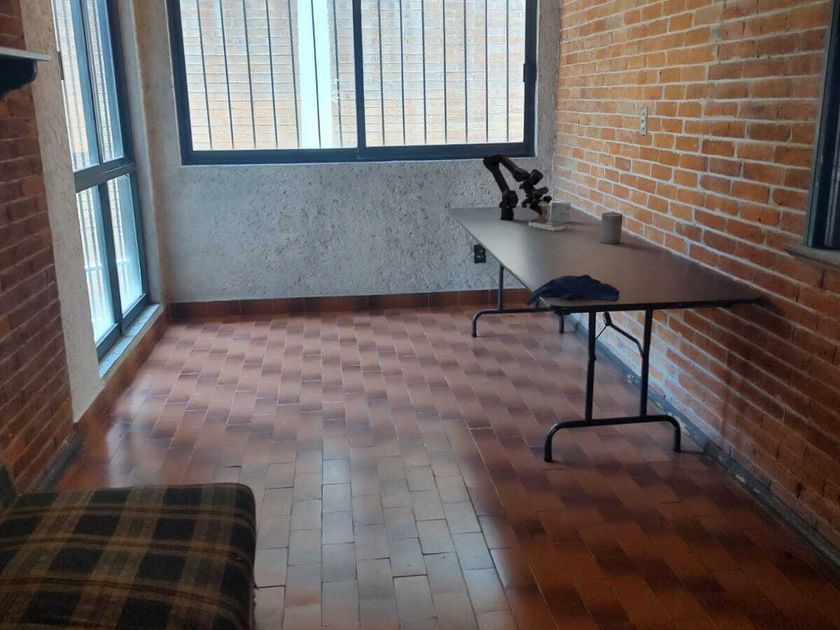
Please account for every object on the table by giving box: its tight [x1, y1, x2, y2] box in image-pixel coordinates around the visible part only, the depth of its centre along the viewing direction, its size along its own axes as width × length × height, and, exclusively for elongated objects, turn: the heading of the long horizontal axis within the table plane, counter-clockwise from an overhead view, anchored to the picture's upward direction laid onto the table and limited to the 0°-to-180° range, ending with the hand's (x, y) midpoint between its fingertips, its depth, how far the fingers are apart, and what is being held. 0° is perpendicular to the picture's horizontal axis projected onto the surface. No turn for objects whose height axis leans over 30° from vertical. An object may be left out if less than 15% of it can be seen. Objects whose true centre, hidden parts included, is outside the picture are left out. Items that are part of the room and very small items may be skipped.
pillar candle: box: [599, 211, 623, 245], centre depth 362 cm, size 10×10×15 cm
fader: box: [536, 202, 549, 223], centre depth 397 cm, size 4×5×11 cm
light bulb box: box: [549, 200, 572, 223], centre depth 416 cm, size 11×7×11 cm, turn 84°
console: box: [528, 217, 566, 232], centre depth 396 cm, size 17×9×4 cm, turn 39°
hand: (544, 214), depth 397 cm, fingers closed on fader, 3 cm apart
